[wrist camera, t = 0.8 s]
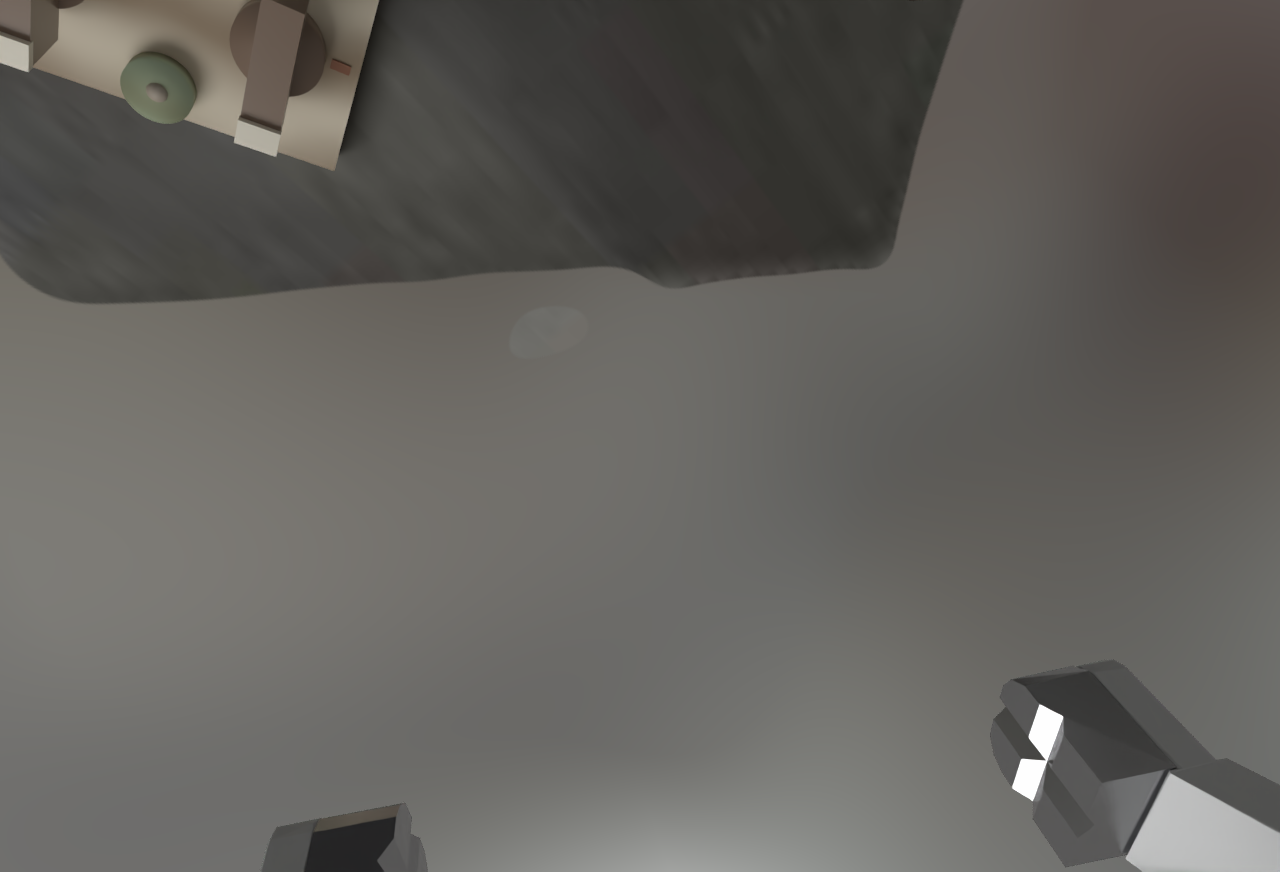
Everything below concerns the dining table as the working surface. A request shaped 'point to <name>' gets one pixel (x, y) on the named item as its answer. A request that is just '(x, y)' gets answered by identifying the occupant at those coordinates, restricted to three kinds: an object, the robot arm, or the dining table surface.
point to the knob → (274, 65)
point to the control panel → (208, 65)
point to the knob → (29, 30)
